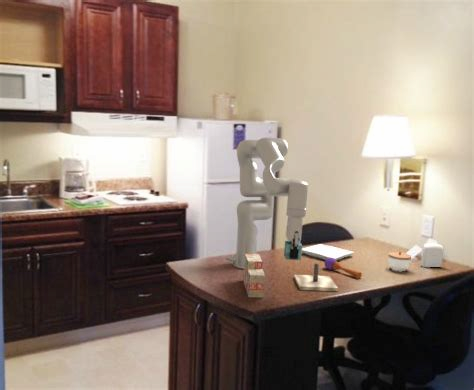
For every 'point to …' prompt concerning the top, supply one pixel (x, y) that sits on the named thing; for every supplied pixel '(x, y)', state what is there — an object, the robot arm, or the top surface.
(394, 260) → the lidded jar
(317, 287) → the cream peg stand
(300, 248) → the open box
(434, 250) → the photo printer
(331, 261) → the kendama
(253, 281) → the stack of blocks
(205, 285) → the top surface
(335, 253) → the salad plate
